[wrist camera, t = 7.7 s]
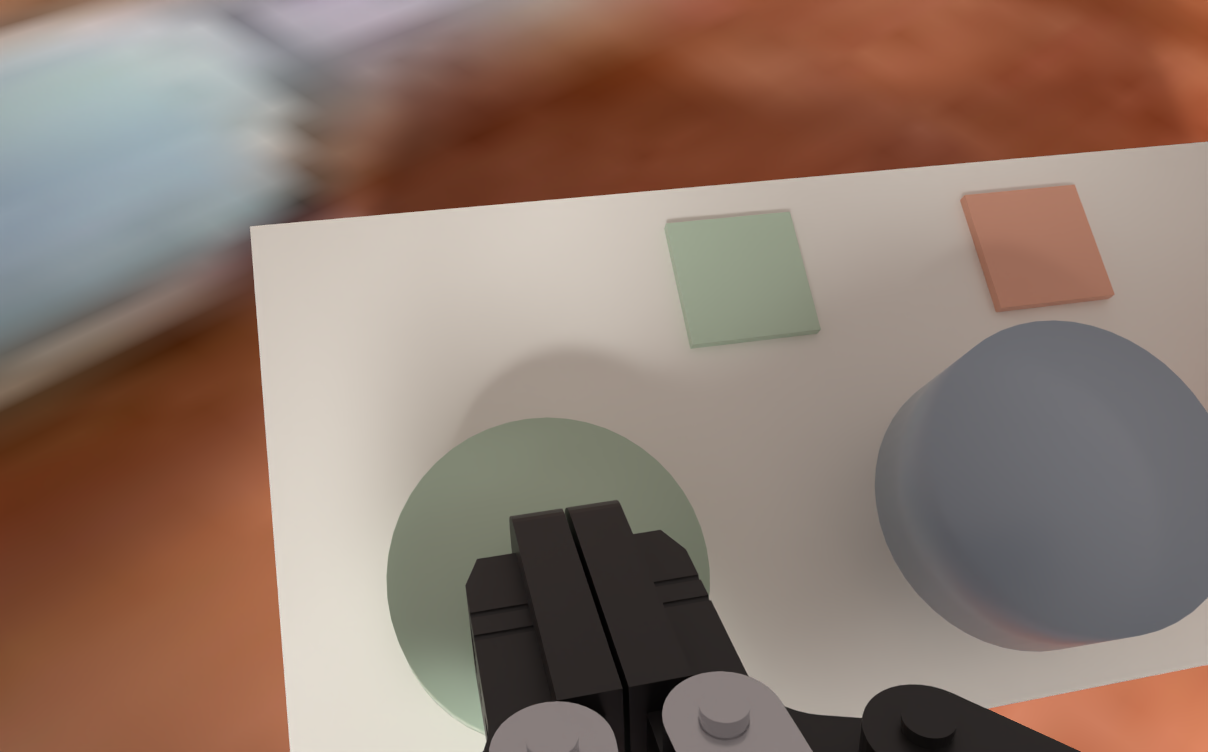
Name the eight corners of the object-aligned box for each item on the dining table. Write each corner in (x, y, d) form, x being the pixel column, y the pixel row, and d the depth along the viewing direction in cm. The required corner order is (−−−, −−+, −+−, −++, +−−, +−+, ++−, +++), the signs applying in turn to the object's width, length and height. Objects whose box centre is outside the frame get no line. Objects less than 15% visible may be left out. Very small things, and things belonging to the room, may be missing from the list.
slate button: (920, 675, 15) (984, 665, 13) (842, 385, 17) (892, 339, 15) (1190, 624, 16) (1285, 608, 14) (1095, 352, 18) (1170, 305, 16)
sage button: (411, 771, 15) (406, 773, 14) (378, 473, 17) (369, 438, 15) (707, 715, 16) (740, 710, 14) (651, 436, 18) (675, 399, 16)
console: (348, 815, 22) (295, 846, 15) (308, 380, 25) (247, 220, 18) (1261, 636, 27) (1587, 589, 19) (1131, 284, 30) (1365, 123, 22)
